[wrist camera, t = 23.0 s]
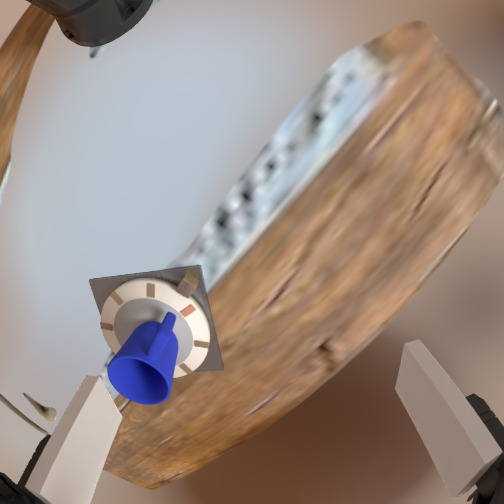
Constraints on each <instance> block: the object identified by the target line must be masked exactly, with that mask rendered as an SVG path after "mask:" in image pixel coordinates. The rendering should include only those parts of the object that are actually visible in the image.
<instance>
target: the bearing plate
mask: <svg viewBox="0 0 504 504" xmlns="http://www.w3.org/2000/svg"><path fill="white" fill-rule="evenodd" d="M137 278H155V279H160V280H164V281H167V282H170V283H172V284H174V285H176V286H177V288H176V291H177V292H179V293H180V294H181V295H183V296H184V297H186V298H187V299H188V298H189V297H190V296H192V297H193V298H194V299H195V300H196V302H197V303H198V304H199V305H200V307H201V308H202V310H203V311H204V313H205V315H206V317H207V320H208V323H209V327H210V342H209V348H208V352H207V355H206V357H205V359H204V361H203V362H202V363H201V365H200V366H199V367H198V368H196V369H195V370H194V371H193V372H201V371H216V370H224V366H223V362H222V358H221V353H220V349H219V345H218V341H217V337H216V333H215V328H214V324H213V320H212V315H211V311H210V306H209V302H208V297H207V292H206V288H205V283H204V278H203V273H202V268H201V265H197V266H190V267H182V268H174V269H166V270H159V271H150V272H143V273H135V274H127V275H118V276H110V277H103V278H94V279H90V280H89V282H90V286H91V289H92V292H93V295H94V298H95V300H96V303H97V306H98V309H99V312H100V315H101V313H102V309H103V306H104V303H105V302H106V300H107V298H108V297H109V296H110V295H111V294H112V293H113V292H114V290H115V289H116V288H118V287H119V286H120V285H122V284H123V283H125V282H127V281H130V280H133V279H137Z"/></svg>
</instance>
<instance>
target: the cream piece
mask: <svg viewBox="0 0 504 504" xmlns="http://www.w3.org/2000/svg"><path fill="white" fill-rule="evenodd" d="M176 288H177V286H176V285H174V284H172V283H170V282H167V281H164V280H160V279H155V278H137V279H133V280H130V281H127V282H125V283H123V284H122V285H120V286H119V287H118V288H116V289H115V290H114V292H113V293H112V294H111V295H110V296H109V297H108V298H107V300H106V302H105V303H104V306H103V309H102V313H101V323H100V324H101V328H102V331H103V335H104V337H105V340H106V341H107V343H108V345H109V347H110V348H111V350H112V351H113V352H114V354H115V355H116V354H117V352H118V351H119V350H120V348H121V347H122V346H123V344H124V343H125V342H126V340H127V339H128V338H129V337H130V335H131V334H132V333H133V331H134V330H135V329H136V328H137V327H138V326H139V325H141V324H142V323H145V322H150V321H154V322H159V323H162V321H163V319H164V317H165V315H166V313H167V312H172V313H173V314H175V315H176V321H175V324H174V327H173V330H172V331H173V332H174V334H175V335H176V337H177V340H178V354H177V359H176V365H175V370H174V376H173V378H176V377H181V376H184V375H186V374H190V373H192V372H193V371H194V370H195V369H196V368H198V367H199V366H200V365H201V363H202V362H203V361H204V359H205V357H206V355H207V352H208V348H209V342H210V327H209V323H208V320H207V317H206V315H205V313H204V311H203V310H202V308H201V307H200V305H199V304H198V303H197V302H196V300H195V299H194V298H193V297H192V296H190V297H189V298H188V299H187V298H186V297H184V296H183V295H181V294H180V293H179V292H177V291H176Z"/></svg>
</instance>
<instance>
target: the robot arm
mask: <svg viewBox="0 0 504 504" xmlns="http://www.w3.org/2000/svg"><path fill="white" fill-rule="evenodd" d="M27 1H28V2H30V3H32V4H34V5H36V6H38V7H39V8H41V9H43V10H45V11H46V12H48V13H50V14H52V15H53V16H54V17H55V19H56V21H57V22H58V24H59V26H60V28H61V30H62V32H63V34H64V35H65V36H66V37H67V38H68V39H69V40H71V41H72V42H74V43H76V44H78V45H81V46H88V47H91V46H98V45H102V44H105V43H108V42H110V41H113V40H115V39H117V38H118V37H120V36H122V35H123V34H125V33H126V32H128V31H129V30H130V29H131V28H132V27H134V26H135V25H136V24H137V23H138V22H139V21H140V20H141V19H142V18H143V17H144V15H145V14H146V13H147V11H148V10H149V8H150V6H151V4H152V2H153V0H27ZM395 390H396V392H397V394H398V396H399V397H400V399H401V401H402V403H403V404H404V406H405V408H406V410H407V412H408V414H409V416H410V417H411V419H412V421H413V423H414V425H415V427H416V429H417V430H418V433H419V434H420V436H421V438H422V440H423V442H424V444H425V446H426V448H427V450H428V452H429V454H430V456H431V458H432V460H433V462H434V464H435V466H436V468H437V470H438V472H439V474H440V476H441V478H442V480H443V482H444V485H445V487H446V489H447V491H448V493H449V495H450V498H451V499H452V500H453V499H455V498H456V497H458V496H460V495H462V494H464V493H466V492H468V491H469V490H470V489H471V488H472V487H473V486H474V485H475V484H476V486H477V489H476V490H475V491H474V492H473V493H472V494H471V495H470V496H469V498H468V500H467V501H470V500H471V499H472V498H473V497H474V498H473V502H472V504H504V426H503V425H502V424H501V422H500V421H499V420H498V418H496V417H495V414H494V413H493V412H492V411H491V410H490V407H489V406H488V405H487V403H486V402H485V401H484V400H483V399H482V398H480V397H478V396H477V395H475V394H472V395H469V396H467V397H464V395H463V394H462V393H461V392H460V390H459V389H458V387H457V386H456V385H455V384H454V382H453V381H452V380H451V378H450V377H449V376H448V374H447V373H446V372H445V371H444V369H443V368H442V367H441V366H440V364H439V363H438V362H437V360H436V359H435V358H434V357H433V356H432V354H431V353H430V352H429V351H428V349H427V348H426V347H425V346H424V345H423V343H422V342H421V341H420V340H415V341H412V342H408V343H405V344H404V348H403V354H402V359H401V364H400V369H399V374H398V378H397V383H396V387H395ZM121 419H122V415H121V414H120V412H119V410H118V409H117V407H116V405H115V403H114V402H113V400H112V398H111V396H110V395H109V393H108V391H107V389H106V387H105V385H104V384H103V382H102V380H101V378H100V376H86V378H85V379H84V381H83V383H82V384H81V386H80V388H79V389H78V391H77V392H76V394H75V396H74V397H73V399H72V401H71V402H70V404H69V406H68V407H67V409H66V411H65V413H64V414H63V416H62V418H61V419H60V421H59V423H58V425H57V426H56V428H55V430H54V432H53V433H52V435H47V436H46V437H45V438H44V439H43V440H41V442H40V443H39V445H38V446H37V448H36V452H34V454H33V456H32V459H30V461H29V463H28V465H27V467H26V469H25V471H24V473H23V475H22V477H21V479H20V481H19V482H18V484H17V485H16V484H15V483H14V482H13V481H12V480H11V479H10V478H9V477H7V476H6V475H5V474H4V473H1V472H0V504H90V502H91V500H92V497H93V494H94V491H95V488H96V485H97V482H98V479H99V477H100V474H101V471H102V469H103V466H104V463H105V460H106V458H107V455H108V453H109V450H110V447H111V445H112V442H113V440H114V437H115V434H116V432H117V429H118V427H119V424H120V422H121Z"/></svg>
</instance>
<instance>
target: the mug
mask: <svg viewBox="0 0 504 504" xmlns="http://www.w3.org/2000/svg"><path fill="white" fill-rule="evenodd" d="M175 321H176V315H175V314H173V313H172V312H167V313H166V315H165V317H164V319H163V321H162V323H159V322H154V321H150V322H145V323H142V324H141V325H139V326H138V327H137V328H136V329H135V330H134V331H133V333H132V334H131V335H130V337H129V338H128V339H127V340H126V342H125V343H124V344H123V346H122V347H121V348H120V350H119V351H118V352H117V354H116V355H115V356H114V357H113V359H112V360H111V361H110V363H109V365H108V370H107V372H108V377H109V380H110V382H111V384H112V385H113V387H114V388H115V389H116V390H117V391H118V392H119V393H120V394H121V395H123V396H124V397H126V398H128V399H129V400H131V401H134V402H137V403H140V404H145V405H154V404H159V403H161V402H163V401H165V400H166V399H167V398H168V397H169V395H170V392H171V387H172V381H173V376H174V370H175V365H176V359H177V354H178V340H177V337H176V335H175V334H174V332H173V331H172V330H173V327H174V324H175Z"/></svg>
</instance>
